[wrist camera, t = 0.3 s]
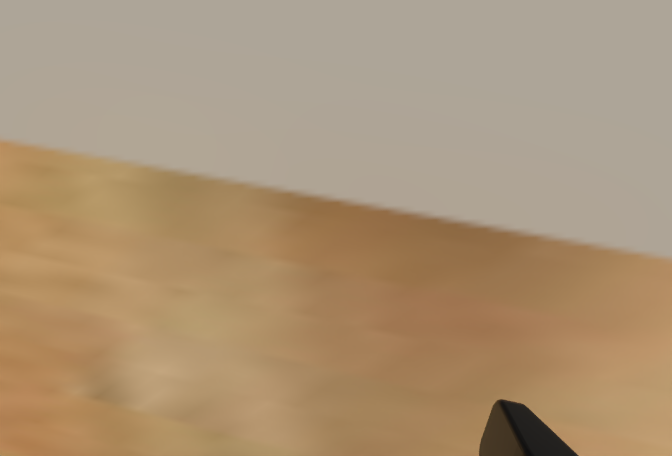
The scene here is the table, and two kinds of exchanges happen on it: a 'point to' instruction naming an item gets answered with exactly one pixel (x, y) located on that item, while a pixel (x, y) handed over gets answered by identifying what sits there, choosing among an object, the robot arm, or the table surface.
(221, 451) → the table surface
